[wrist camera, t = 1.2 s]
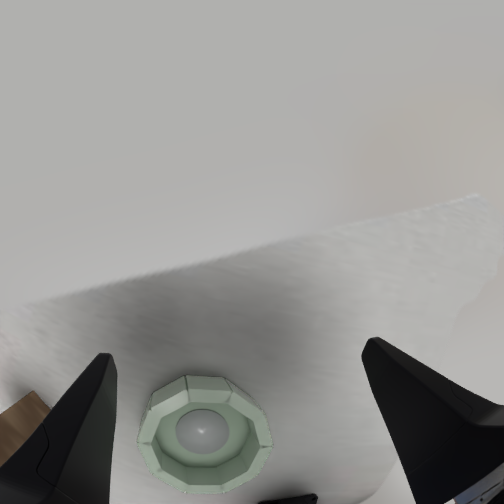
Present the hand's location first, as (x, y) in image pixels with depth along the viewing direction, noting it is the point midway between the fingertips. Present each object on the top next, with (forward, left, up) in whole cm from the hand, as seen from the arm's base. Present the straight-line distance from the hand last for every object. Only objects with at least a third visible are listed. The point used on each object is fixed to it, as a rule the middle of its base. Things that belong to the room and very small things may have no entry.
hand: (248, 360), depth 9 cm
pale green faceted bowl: (-10, 0, -14) cm, 17 cm away
